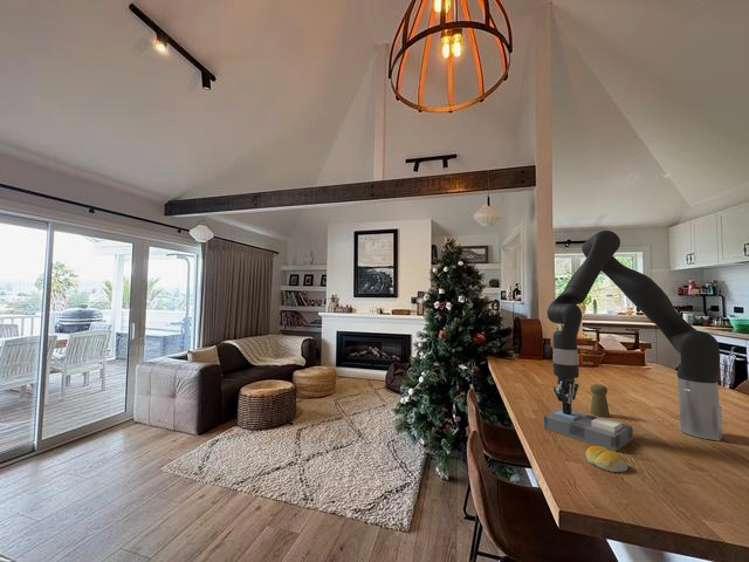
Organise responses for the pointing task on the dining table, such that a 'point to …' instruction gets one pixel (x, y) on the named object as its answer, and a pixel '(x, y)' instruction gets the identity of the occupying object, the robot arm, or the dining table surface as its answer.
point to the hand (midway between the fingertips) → (567, 413)
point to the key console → (589, 431)
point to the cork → (599, 401)
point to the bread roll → (606, 459)
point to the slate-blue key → (570, 417)
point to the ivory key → (606, 424)
